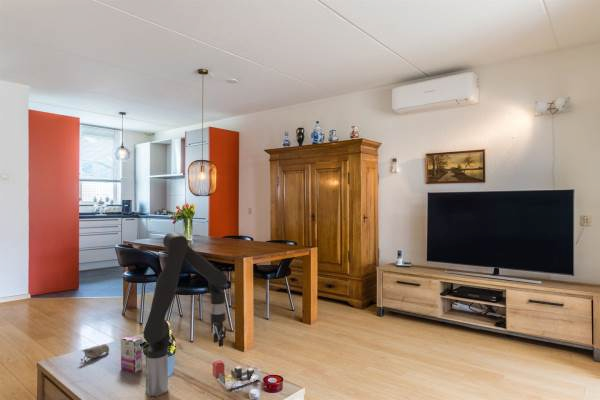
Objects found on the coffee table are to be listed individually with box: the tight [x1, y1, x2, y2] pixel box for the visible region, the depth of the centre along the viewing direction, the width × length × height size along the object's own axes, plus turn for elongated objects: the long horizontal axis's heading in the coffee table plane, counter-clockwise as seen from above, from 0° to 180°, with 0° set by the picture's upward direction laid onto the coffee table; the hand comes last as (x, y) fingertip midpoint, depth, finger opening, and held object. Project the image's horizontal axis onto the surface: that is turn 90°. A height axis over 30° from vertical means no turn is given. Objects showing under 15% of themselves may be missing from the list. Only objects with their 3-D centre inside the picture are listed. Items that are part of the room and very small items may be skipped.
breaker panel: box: [217, 369, 250, 392], centre depth 186 cm, size 17×12×4 cm
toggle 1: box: [234, 365, 243, 377], centre depth 189 cm, size 2×3×4 cm
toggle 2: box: [246, 367, 255, 379], centre depth 186 cm, size 2×3×4 cm
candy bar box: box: [120, 335, 143, 373], centre depth 199 cm, size 11×5×16 cm, turn 62°
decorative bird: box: [80, 343, 110, 363], centre depth 214 cm, size 5×16×8 cm, turn 154°
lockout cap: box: [212, 359, 225, 378], centre depth 193 cm, size 4×4×6 cm
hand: (218, 344), depth 192 cm, fingers open, 6 cm apart
